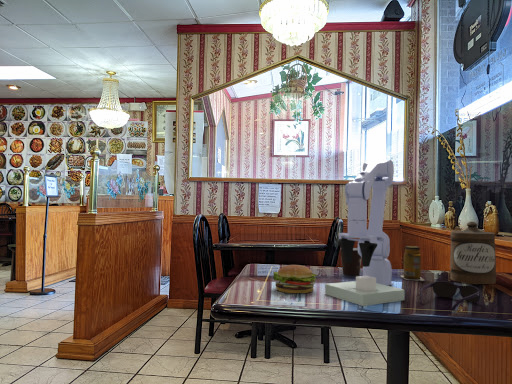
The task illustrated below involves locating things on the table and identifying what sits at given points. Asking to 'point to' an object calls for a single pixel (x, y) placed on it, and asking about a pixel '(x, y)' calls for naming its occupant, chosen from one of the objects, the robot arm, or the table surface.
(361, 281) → the block
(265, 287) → the table surface
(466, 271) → the wooden container
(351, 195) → the robot arm
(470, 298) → the sunglasses
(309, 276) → the food
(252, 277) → the table surface
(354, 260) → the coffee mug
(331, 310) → the table surface
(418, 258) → the condiment
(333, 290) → the pale green square slab
